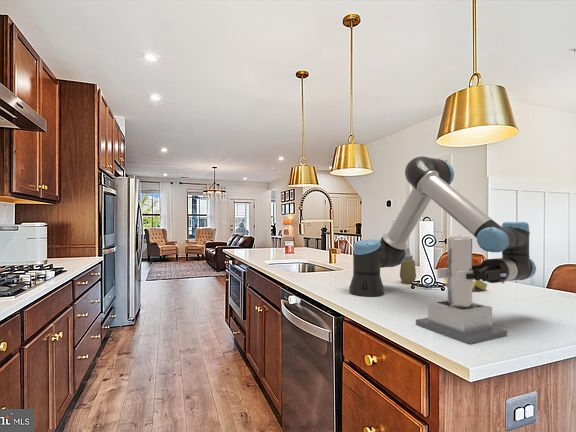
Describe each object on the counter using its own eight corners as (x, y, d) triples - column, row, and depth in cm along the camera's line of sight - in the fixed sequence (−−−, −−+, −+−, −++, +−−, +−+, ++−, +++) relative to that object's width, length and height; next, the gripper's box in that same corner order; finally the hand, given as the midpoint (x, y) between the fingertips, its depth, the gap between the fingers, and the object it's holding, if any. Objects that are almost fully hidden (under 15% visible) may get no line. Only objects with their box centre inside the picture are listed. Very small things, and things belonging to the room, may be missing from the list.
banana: (489, 285, 154) (476, 277, 151) (483, 300, 154) (469, 292, 150) (454, 275, 173) (442, 268, 169) (449, 288, 172) (436, 281, 169)
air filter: (475, 323, 94) (475, 235, 94) (451, 322, 95) (451, 235, 96) (468, 317, 100) (467, 234, 101) (445, 315, 102) (445, 234, 102)
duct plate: (415, 324, 103) (415, 300, 103) (451, 318, 110) (451, 295, 110) (469, 344, 86) (469, 315, 86) (507, 335, 93) (507, 309, 93)
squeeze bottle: (416, 282, 173) (416, 248, 173) (415, 285, 166) (415, 249, 166) (400, 281, 176) (400, 247, 177) (398, 283, 169) (399, 248, 169)
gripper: (529, 287, 98) (477, 294, 87) (470, 277, 114) (421, 282, 104) (528, 262, 98) (477, 266, 88) (470, 255, 114) (421, 258, 104)
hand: (447, 275), depth 96 cm, fingers closed on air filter, 5 cm apart
